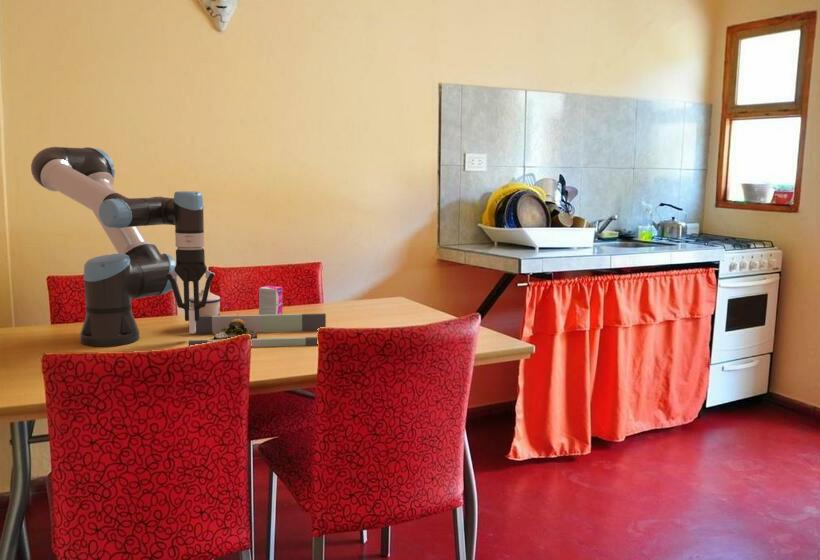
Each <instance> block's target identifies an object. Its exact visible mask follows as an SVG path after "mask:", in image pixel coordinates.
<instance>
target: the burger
mask: <svg viewBox="0 0 820 560" xmlns="http://www.w3.org/2000/svg"><path fill="white" fill-rule="evenodd" d="M244 326H245V323H244V321H243V320H241V319H238V318H237V319H234V320H232V321H230V323H229V327H230V328H227V329H225V328H224V329H222V330H221V332H218V333H214V334H213V340H222V339H227V338H231V337H235V336H238V335H242V334H250V335H251V338H252V339H258V332H253V331H248V329H247V328H245V327H244ZM223 327H224V326H223Z"/></svg>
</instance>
